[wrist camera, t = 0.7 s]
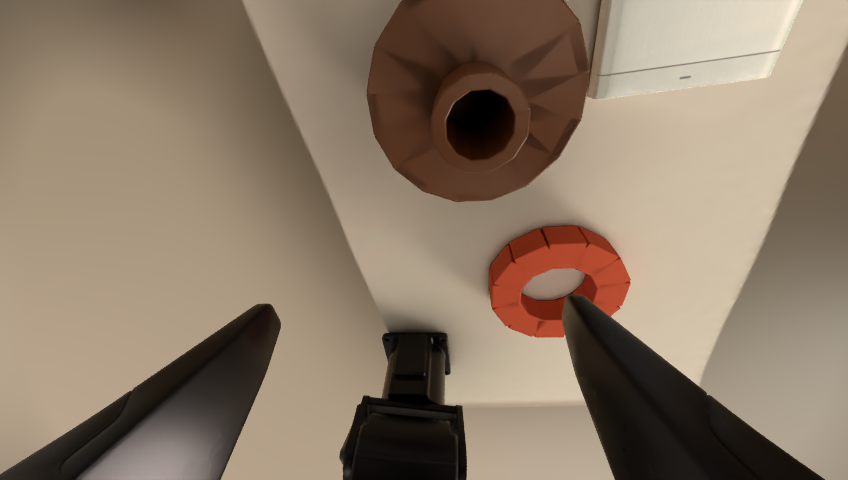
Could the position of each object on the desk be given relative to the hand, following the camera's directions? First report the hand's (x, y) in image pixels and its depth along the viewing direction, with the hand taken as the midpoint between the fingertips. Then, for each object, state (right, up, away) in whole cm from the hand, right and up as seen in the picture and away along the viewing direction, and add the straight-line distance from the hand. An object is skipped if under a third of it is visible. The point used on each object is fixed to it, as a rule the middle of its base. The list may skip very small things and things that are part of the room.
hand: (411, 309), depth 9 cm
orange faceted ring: (+11, -1, +16) cm, 19 cm away
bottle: (+3, +11, +8) cm, 14 cm away
